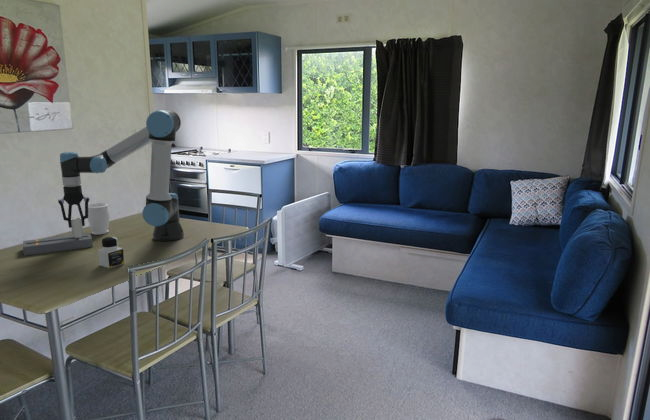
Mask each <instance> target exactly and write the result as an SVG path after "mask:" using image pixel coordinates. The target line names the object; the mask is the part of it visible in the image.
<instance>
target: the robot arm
mask: <svg viewBox="0 0 650 420" xmlns="http://www.w3.org/2000/svg"><path fill="white" fill-rule="evenodd" d="M181 124H182V122H181V118H180V116H179V114H178V113H177V112H176V111H174V110H171V109H157V110H155V111H153V112H151V113H150V114H149V115H148V116H147V118H146V124H145V125H146V126H144V127H143V128H141V129H139V130H137V131H136V132H135V133H133V134H131V135H130V136H128V137H126V138H125V139H122V140H121V141H119V142H117V143H116V144H114V145H113V146H111V147H109V148H108V149H105V150H104V151H102V152H100V153H99V154H96V155H92V156H79V154H78V152H76V151H66V152H65V151H64V152H61V153H60V154H59V163H60V170H61V179H62V180H61V181H62V185H63V197H62V198H61V199H58V200H57V203H58V204H59V205H60V209H61V214H62V218H63V221H67V222H68V228H70V229H71V233H72V234H71V235H74V227H73V220H72V214H73V213H72V212H73V210H72V209H73V206H74V205H75V206H77V208H78V209H77V210H78V212H79V215H80V216H79V217H80V224H81V233H82V234H84V229H83V227H85V225H86V223H85V220H86V219H88V205H89V202H90V197H88V196H84V194H83V189H82V185H81V184H82V181H81V180H82V179H81V174H86V173H87V174H101V173H105V172H106V171H107V169H109V168H111V167H112V166H113V165H115V164H117V163H118V162H120V161H122V160H123V159H125V158H127V157H128V156H130V155H132V154H134V153H135V152H137V151H138V150H140V149H143V148H144V147H146V146H148V145H149V144H151V154H150V158H151V159H150V161H151V162H150V175H149V176H150V177H149V178H150V180H149V193H148V194H147V195H146V197H145V205H144V207H143V210H142V218H143V220H144V221H145V222H146V223H147V225H150V226H152V227H154V228H153V232H152V239H153V240H155V241H158V242H170V241H176V240H180V238H181V239H182V238H184V237H183V236H184V233H185V232H184V228H182V225H181V223H180V211H179V209H180V208H179V196H178V194H177V193H176V192H175V193H173V192H170V179H171V164H172V163H171V160H172V159H171V157H172V144H173V143H175V142H176V136H177V135H176V133H177V132H178V131H179V129H180V128H181ZM82 201H83V202H84V212H83V210H82V209H83V208H82V206H81V202H82ZM65 203H67V204H68V208H67V209H68V213H67V216H66V211H65V206H64V204H65ZM83 213H84V214H83Z"/></svg>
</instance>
